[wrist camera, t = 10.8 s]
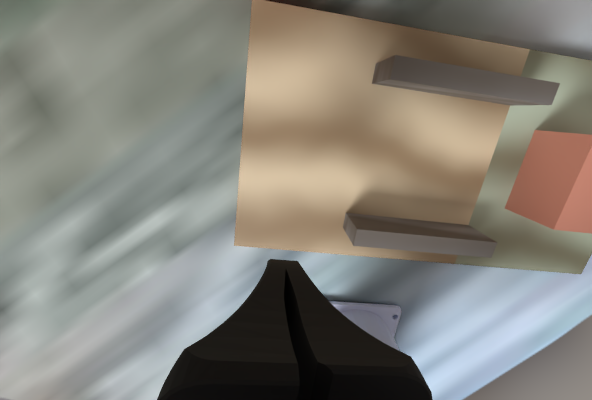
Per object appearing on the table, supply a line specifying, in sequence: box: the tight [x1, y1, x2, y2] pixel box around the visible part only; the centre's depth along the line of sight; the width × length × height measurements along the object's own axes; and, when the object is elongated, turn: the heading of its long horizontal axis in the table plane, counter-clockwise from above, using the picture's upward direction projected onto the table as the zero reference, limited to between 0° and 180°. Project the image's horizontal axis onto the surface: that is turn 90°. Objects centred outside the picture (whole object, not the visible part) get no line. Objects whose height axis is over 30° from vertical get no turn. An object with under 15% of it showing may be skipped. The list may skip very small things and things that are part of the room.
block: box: [505, 130, 592, 234], centre depth 19 cm, size 6×6×4 cm
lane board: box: [234, 0, 592, 274], centre depth 19 cm, size 16×30×4 cm, turn 82°
